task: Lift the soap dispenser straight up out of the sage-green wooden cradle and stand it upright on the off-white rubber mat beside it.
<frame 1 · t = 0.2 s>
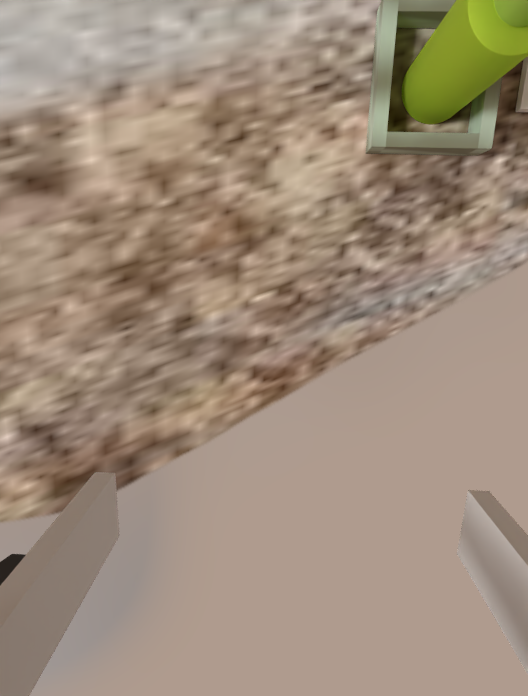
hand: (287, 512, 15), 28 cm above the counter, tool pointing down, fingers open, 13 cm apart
cradle: (429, 86, 36), on the counter
soap dispenser: (428, 87, 36), resting in cradle
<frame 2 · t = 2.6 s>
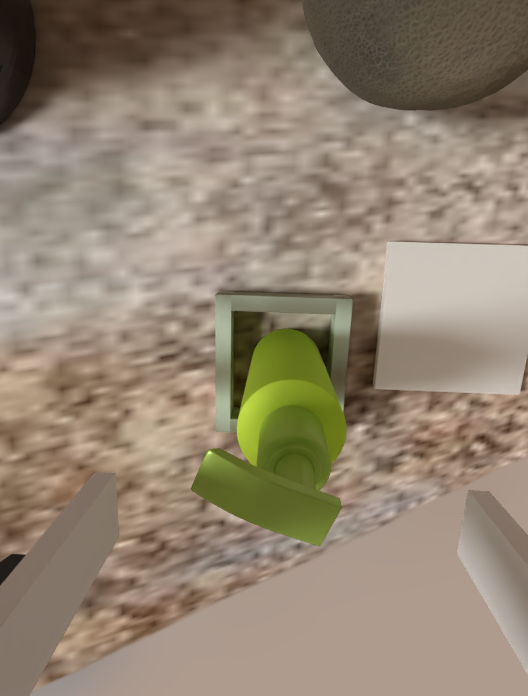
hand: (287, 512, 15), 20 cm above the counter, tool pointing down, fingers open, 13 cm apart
cradle: (280, 360, 34), on the counter
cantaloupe: (393, 35, 28), on the counter
mat: (453, 319, 32), on the counter
soap dispenser: (280, 359, 34), resting in cradle
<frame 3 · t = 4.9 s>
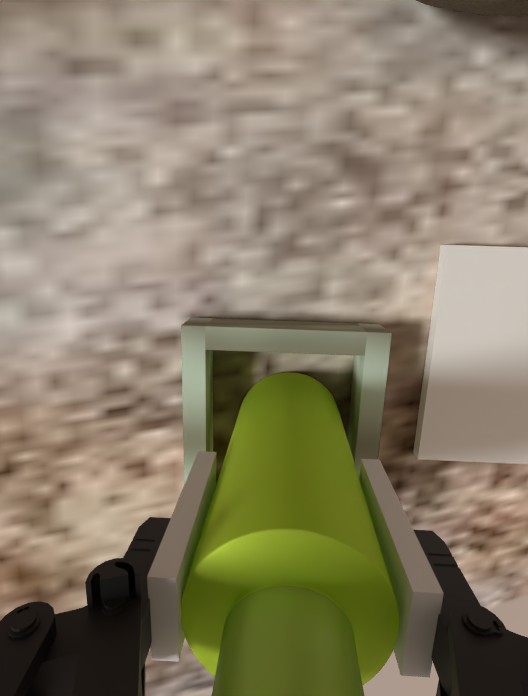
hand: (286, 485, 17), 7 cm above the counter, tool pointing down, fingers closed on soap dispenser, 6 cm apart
cradle: (280, 415, 23), on the counter
soap dispenser: (280, 414, 23), resting in cradle, touching gripper
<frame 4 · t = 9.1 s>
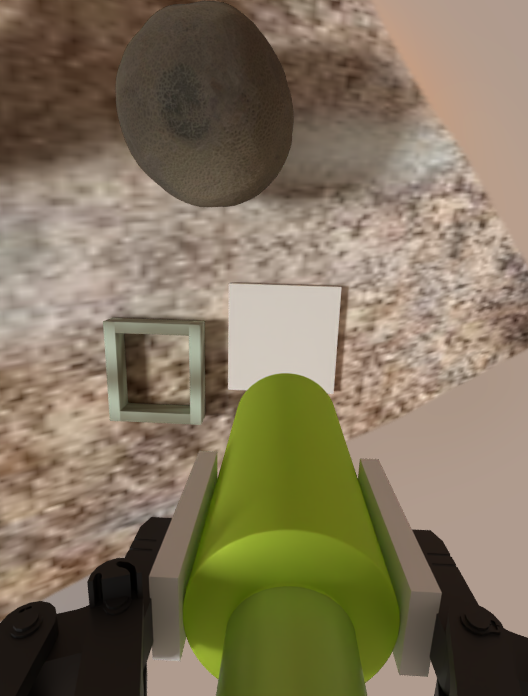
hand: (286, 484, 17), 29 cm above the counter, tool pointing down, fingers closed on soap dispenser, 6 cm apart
cradle: (160, 367, 46), on the counter
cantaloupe: (221, 142, 40), on the counter
mat: (282, 338, 44), on the counter
soap dispenser: (277, 415, 23), point 21 cm above the counter, touching gripper
when the fingers open (9 cm above the counter, at t = 13.4 s): soap dispenser drops 1 cm, resting on mat.
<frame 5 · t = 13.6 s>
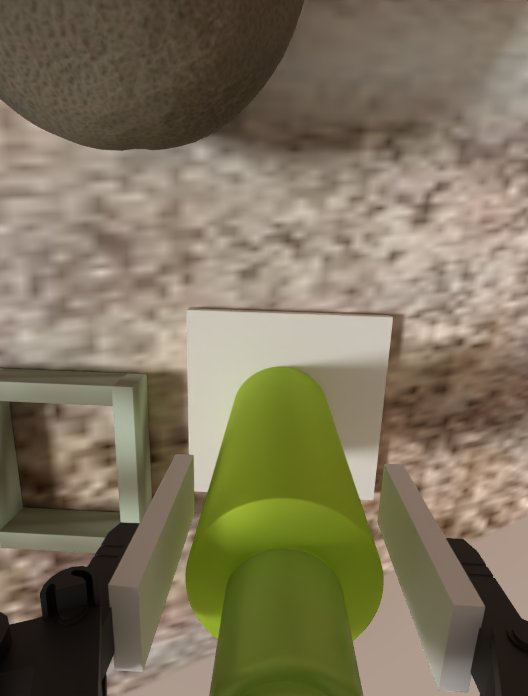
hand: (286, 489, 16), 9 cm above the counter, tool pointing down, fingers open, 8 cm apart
cradle: (73, 451, 27), on the counter
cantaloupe: (167, 42, 21), on the counter
mat: (284, 405, 25), on the counter
soap dispenser: (272, 407, 25), point 1 cm above the counter, touching mat
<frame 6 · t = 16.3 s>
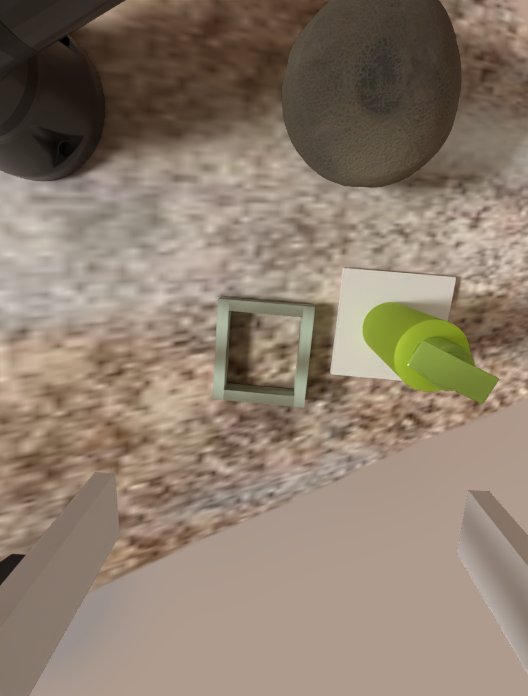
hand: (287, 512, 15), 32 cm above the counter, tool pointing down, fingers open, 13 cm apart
cradle: (263, 349, 46), on the counter
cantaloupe: (350, 128, 41), on the counter
mat: (389, 326, 45), on the counter
soap dispenser: (384, 326, 44), point 1 cm above the counter, touching mat
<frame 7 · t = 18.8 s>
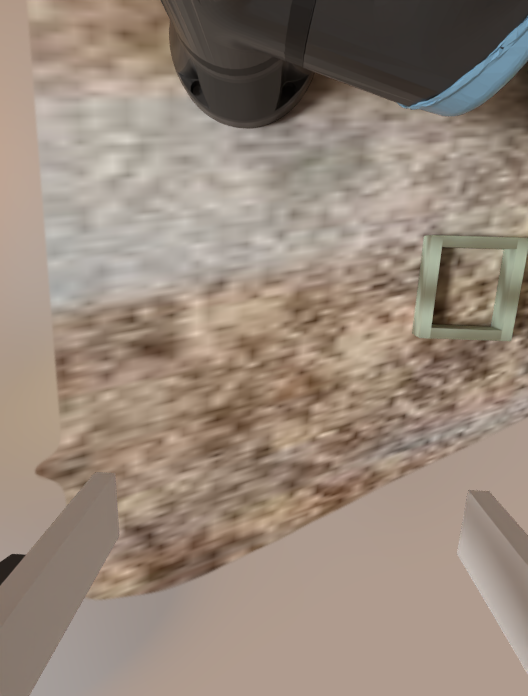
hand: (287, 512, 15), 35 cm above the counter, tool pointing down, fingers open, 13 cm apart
cradle: (462, 287, 46), on the counter
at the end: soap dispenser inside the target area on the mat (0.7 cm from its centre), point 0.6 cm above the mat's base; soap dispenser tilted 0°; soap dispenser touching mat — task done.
